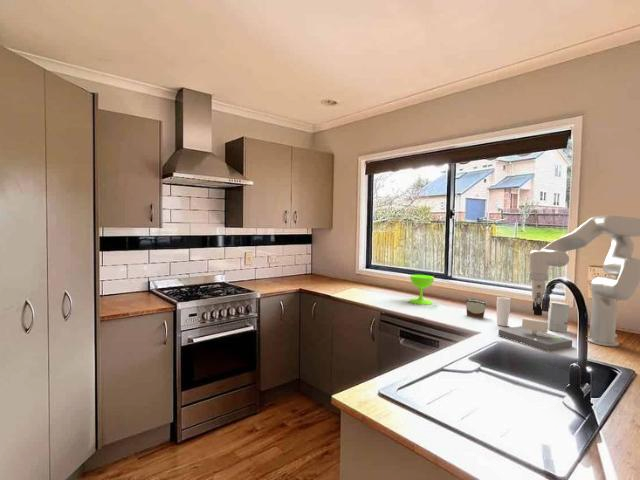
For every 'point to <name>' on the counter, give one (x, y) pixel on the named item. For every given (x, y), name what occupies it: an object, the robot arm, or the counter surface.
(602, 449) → the counter surface
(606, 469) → the counter surface
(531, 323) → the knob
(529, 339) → the dial plate
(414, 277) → the wineglass
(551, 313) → the skincare box
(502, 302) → the drinking glass
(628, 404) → the counter surface
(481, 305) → the food container
